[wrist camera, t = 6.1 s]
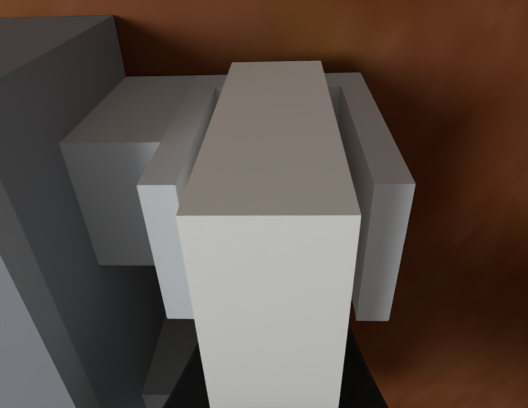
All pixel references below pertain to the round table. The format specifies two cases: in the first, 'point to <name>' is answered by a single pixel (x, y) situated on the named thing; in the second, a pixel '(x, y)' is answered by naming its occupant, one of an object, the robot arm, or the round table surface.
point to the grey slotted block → (132, 214)
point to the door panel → (271, 240)
